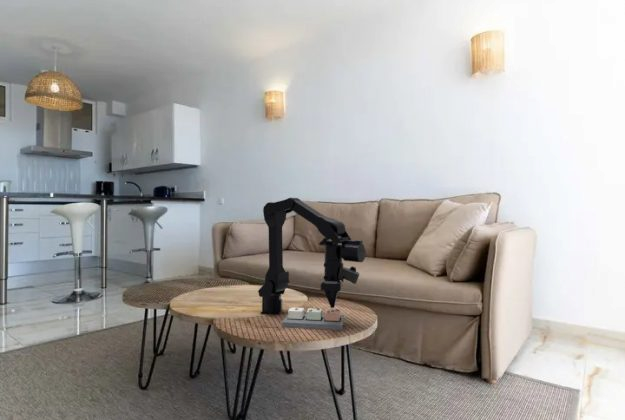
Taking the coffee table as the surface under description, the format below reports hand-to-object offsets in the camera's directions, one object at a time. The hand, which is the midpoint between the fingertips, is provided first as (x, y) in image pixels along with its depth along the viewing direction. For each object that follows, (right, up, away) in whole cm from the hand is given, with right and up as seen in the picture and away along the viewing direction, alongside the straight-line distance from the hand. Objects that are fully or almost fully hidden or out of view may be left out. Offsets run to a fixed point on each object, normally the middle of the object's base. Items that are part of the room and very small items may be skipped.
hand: (332, 307), depth 129 cm
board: (-6, -5, +1) cm, 8 cm away
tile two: (-6, -4, +1) cm, 7 cm away
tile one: (-12, -4, +1) cm, 12 cm away
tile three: (0, -4, 0) cm, 4 cm away
